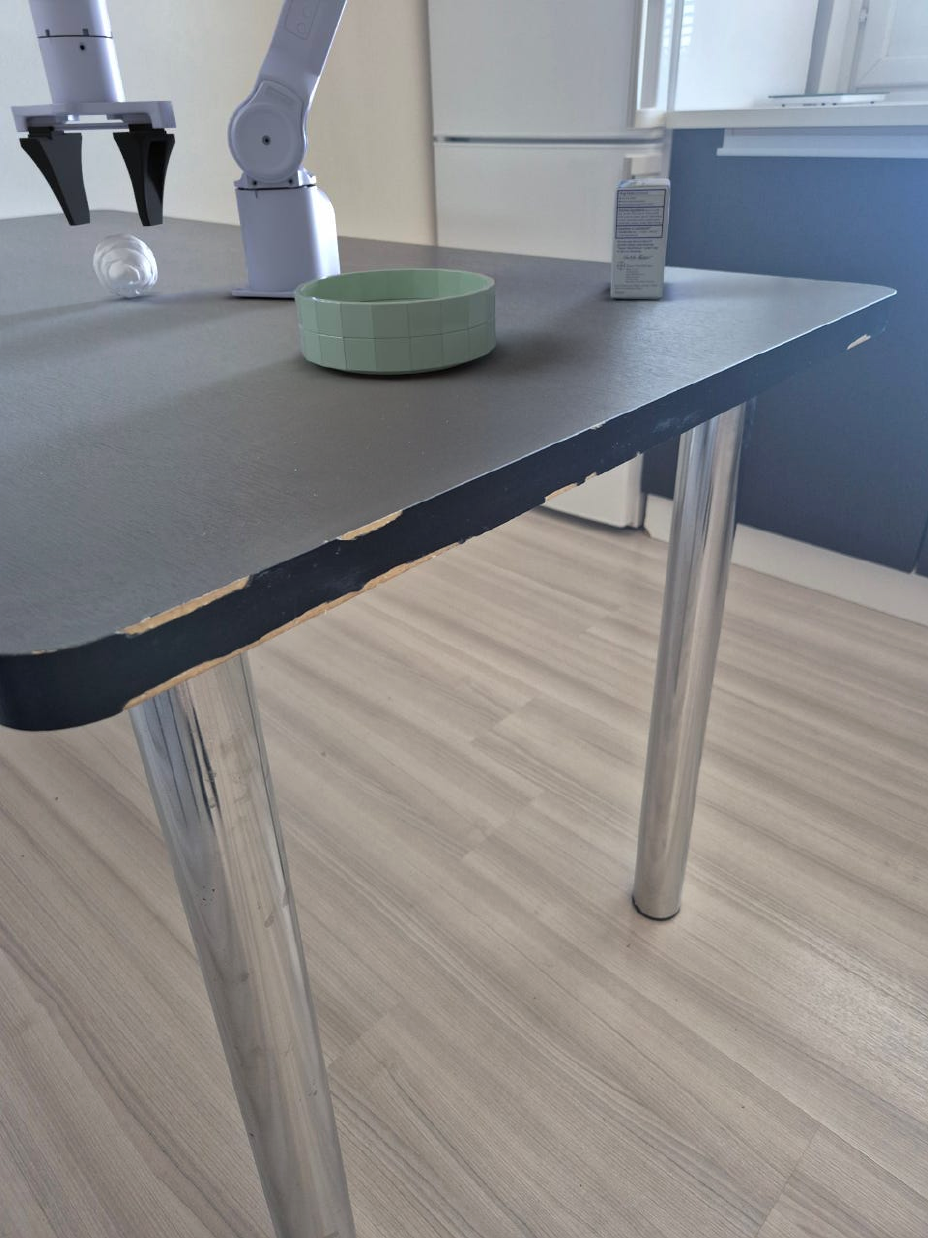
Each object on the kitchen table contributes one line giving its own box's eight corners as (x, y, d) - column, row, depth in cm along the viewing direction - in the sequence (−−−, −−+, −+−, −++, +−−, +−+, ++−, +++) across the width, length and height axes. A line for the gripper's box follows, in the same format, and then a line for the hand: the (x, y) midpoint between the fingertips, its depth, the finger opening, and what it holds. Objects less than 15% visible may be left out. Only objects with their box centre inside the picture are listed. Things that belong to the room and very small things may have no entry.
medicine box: (662, 300, 71) (672, 184, 66) (608, 299, 72) (614, 185, 67) (662, 283, 77) (671, 177, 73) (613, 283, 78) (619, 178, 74)
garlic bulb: (102, 308, 75) (87, 241, 72) (100, 297, 80) (86, 234, 77) (166, 302, 77) (153, 236, 74) (160, 291, 81) (148, 229, 79)
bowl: (350, 329, 64) (344, 266, 62) (515, 336, 61) (515, 269, 59) (268, 374, 54) (258, 300, 52) (463, 385, 50) (461, 306, 48)
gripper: (-35, 40, 66) (16, 229, 73) (121, 30, 63) (160, 230, 70) (28, 45, 72) (70, 220, 79) (175, 37, 68) (206, 221, 75)
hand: (116, 224), depth 75 cm, fingers open, 7 cm apart
